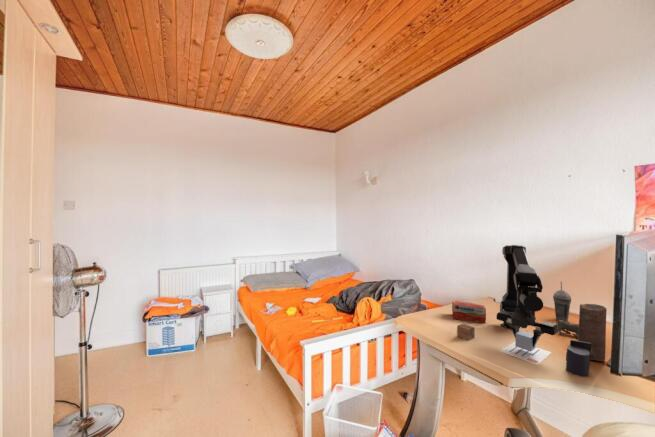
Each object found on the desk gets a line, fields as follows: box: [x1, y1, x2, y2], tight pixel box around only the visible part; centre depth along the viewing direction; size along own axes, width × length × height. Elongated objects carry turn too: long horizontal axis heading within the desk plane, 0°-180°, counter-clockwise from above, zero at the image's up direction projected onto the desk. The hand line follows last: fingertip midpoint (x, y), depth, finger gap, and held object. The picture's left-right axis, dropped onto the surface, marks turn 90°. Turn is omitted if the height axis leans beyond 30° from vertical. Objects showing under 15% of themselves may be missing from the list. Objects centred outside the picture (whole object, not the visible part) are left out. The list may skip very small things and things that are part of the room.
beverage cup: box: [552, 281, 572, 323], centre depth 139 cm, size 7×7×20 cm
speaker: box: [565, 339, 591, 378], centre depth 90 cm, size 8×6×10 cm
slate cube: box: [514, 330, 537, 351], centre depth 104 cm, size 5×5×5 cm
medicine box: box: [451, 299, 487, 324], centre depth 140 cm, size 15×8×8 cm, turn 67°
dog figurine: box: [556, 317, 579, 339], centre depth 120 cm, size 12×6×7 cm, turn 41°
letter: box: [499, 341, 552, 366], centre depth 104 cm, size 16×12×1 cm
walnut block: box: [456, 322, 476, 341], centre depth 116 cm, size 5×5×5 cm
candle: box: [577, 303, 607, 362], centre depth 100 cm, size 8×7×20 cm
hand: (525, 343), depth 104 cm, fingers closed on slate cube, 5 cm apart
